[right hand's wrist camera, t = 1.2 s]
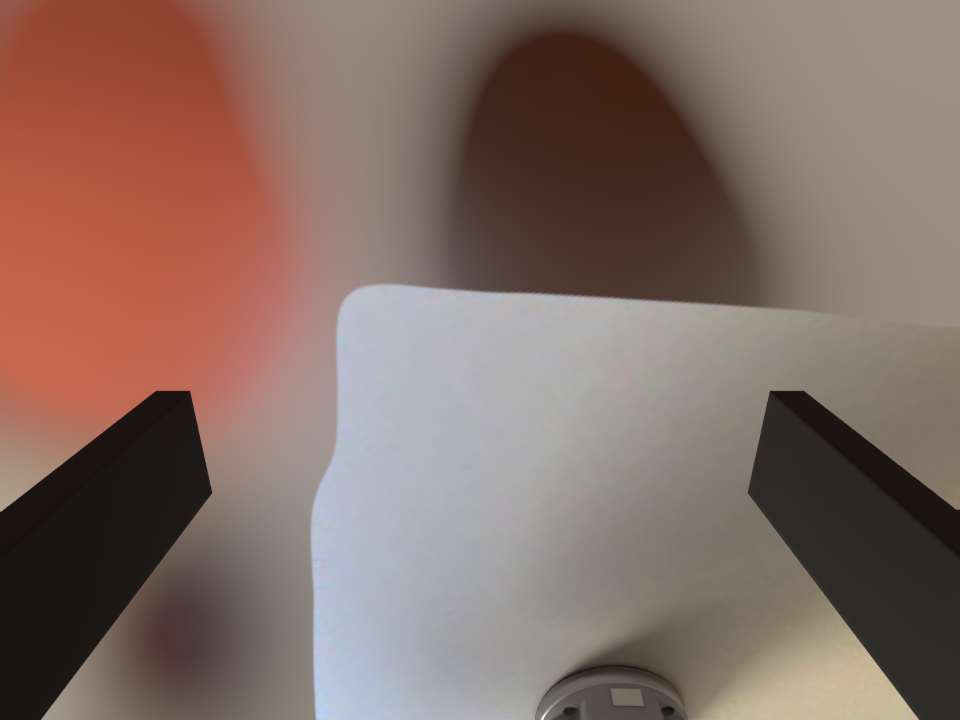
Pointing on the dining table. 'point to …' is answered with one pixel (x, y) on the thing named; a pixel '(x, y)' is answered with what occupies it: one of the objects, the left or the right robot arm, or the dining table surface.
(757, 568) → the dining table surface
